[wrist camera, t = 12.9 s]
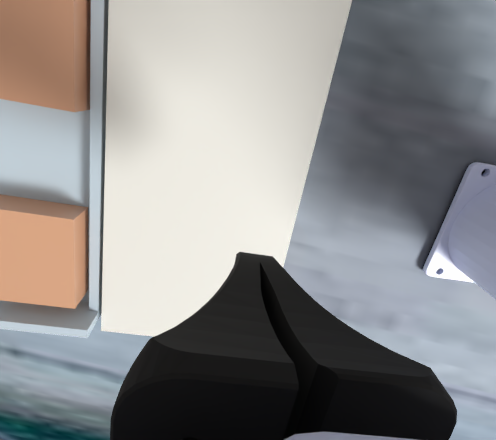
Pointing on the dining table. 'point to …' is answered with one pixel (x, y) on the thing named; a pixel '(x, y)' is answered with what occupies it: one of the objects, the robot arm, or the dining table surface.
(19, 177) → the tray
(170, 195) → the cream plate
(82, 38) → the terracotta tile
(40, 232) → the terracotta tile
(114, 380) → the dining table surface
